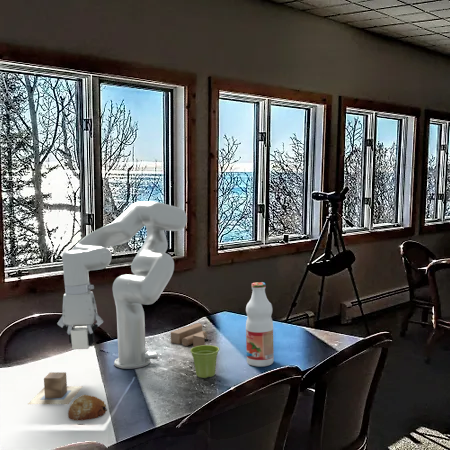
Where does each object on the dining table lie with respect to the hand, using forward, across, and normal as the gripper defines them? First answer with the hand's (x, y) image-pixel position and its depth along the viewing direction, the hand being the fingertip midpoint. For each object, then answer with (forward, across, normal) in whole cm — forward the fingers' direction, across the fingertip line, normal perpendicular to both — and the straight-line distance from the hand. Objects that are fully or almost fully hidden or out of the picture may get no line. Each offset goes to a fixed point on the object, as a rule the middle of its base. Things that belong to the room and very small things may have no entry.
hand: (82, 344), depth 185 cm
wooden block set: (+16, -32, -46) cm, 58 cm away
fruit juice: (+15, -56, -18) cm, 61 cm away
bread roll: (+12, -9, +26) cm, 30 cm away
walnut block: (+11, +5, +13) cm, 18 cm away
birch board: (+12, +5, +13) cm, 19 cm away
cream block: (+1, 0, 0) cm, 1 cm away
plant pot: (+14, -38, -7) cm, 41 cm away
